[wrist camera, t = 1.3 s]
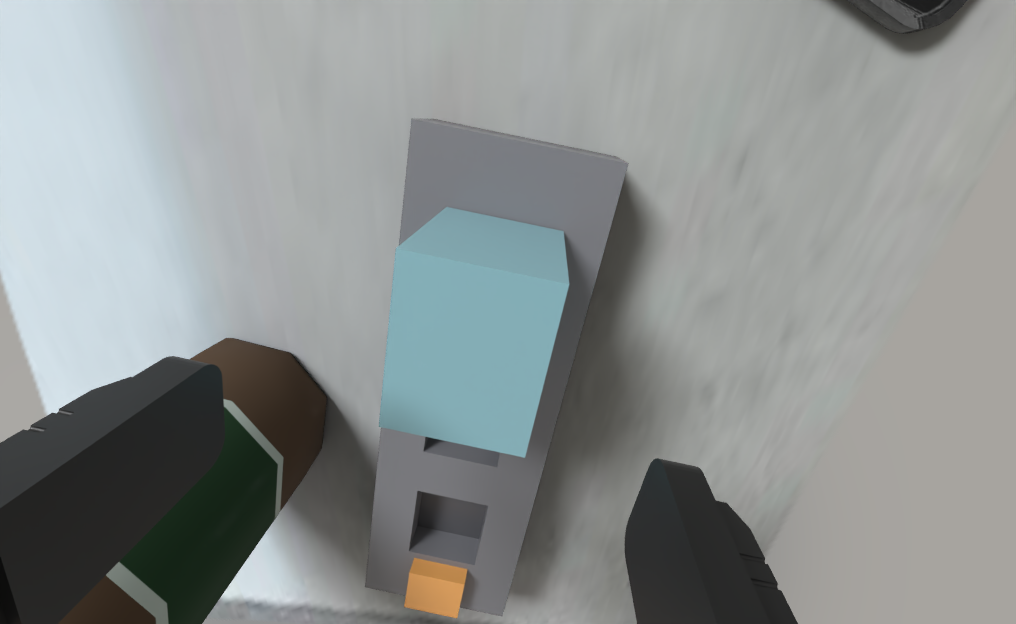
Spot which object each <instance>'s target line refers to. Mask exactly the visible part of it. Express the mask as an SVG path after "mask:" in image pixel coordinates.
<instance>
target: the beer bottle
mask: <svg viewBox="0 0 1016 624" xmlns="http://www.w3.org/2000/svg"><path fill="white" fill-rule="evenodd" d="M190 360H194V361H199V362H204V363H208V364H213V365H216V366H218V367H219V369H220V370H221V373H222V380H223V400H224V420H225V440H224V445H223V448H222V451H221V453H220V455H219V457H218V459H217V461H216V462H215V464H214V465H213V466H212V468H211V469H210V470H209V471H208V472H207V473H206V474H205V475H204V476H203V477H202V478H201V479H200V480H199V481H198V482H197V483H196V484H195V485H194V486H193V487H192V488H191V489H190V490H189V491H188V492H187V493H186V494H185V495H184V496H183V497H182V498H181V499H180V500H179V501H178V502H177V503H176V504H175V506H174V507H173V508H172V509H171V510H170V511H169V512H168V513H167V514H166V515H165V516H164V517H163V518H162V519H161V520H160V521H159V522H158V523H157V524H156V525H155V526H154V527H153V528H152V529H151V530H150V531H149V532H148V533H147V534H146V535H145V536H144V537H143V538H142V539H141V540H140V541H139V542H138V543H137V544H136V545H135V546H134V547H133V548H132V549H131V550H130V551H129V552H128V553H127V554H126V555H125V556H124V557H123V558H122V559H121V560H120V561H119V562H118V563H117V564H116V565H115V566H114V567H113V568H112V569H111V570H110V571H109V572H108V573H107V574H106V575H105V576H104V578H103V579H102V580H101V581H100V582H99V583H98V584H97V585H96V586H95V587H94V588H93V589H92V590H91V591H90V592H89V593H88V594H87V595H86V596H85V597H84V598H83V599H82V600H81V601H80V602H79V603H78V604H77V605H76V606H75V607H74V608H73V609H72V610H71V611H70V612H69V613H68V614H67V615H66V616H65V617H64V618H63V619H62V620H61V621H60V622H59V623H58V624H202V623H203V622H204V620H205V619H206V617H207V616H208V614H209V613H210V612H211V610H212V609H213V607H214V606H215V604H216V603H217V602H218V600H219V599H220V597H221V596H222V594H223V593H224V591H225V590H226V589H227V587H228V586H229V584H230V583H231V581H232V580H233V579H234V577H235V576H236V574H237V573H238V571H239V570H240V568H241V567H242V566H243V564H244V563H245V561H246V560H247V558H248V557H249V555H250V554H251V553H252V551H253V550H254V548H255V547H256V545H257V544H258V543H259V541H260V540H261V538H262V537H263V535H264V534H265V532H266V531H267V530H268V528H269V527H270V525H271V524H272V522H273V521H274V520H275V518H276V517H277V515H278V514H279V512H280V511H281V509H282V508H283V507H284V505H285V504H286V502H287V501H288V499H289V498H290V497H291V495H292V494H293V492H294V491H295V489H296V488H297V486H298V485H299V484H300V482H301V481H302V479H303V478H304V476H305V475H306V474H307V472H308V470H309V469H310V467H311V465H312V464H313V462H314V460H315V459H316V457H317V455H318V453H319V452H320V450H321V448H322V442H323V432H324V422H325V412H326V402H327V396H326V395H325V394H324V393H323V392H322V390H321V389H320V388H319V387H318V386H317V384H316V383H315V382H314V381H313V380H312V378H311V377H310V376H309V375H308V374H307V373H306V371H305V370H304V369H303V368H302V367H301V365H300V364H299V363H298V362H297V361H296V359H295V358H294V357H293V356H292V355H291V353H289V352H286V351H282V350H278V349H274V348H270V347H266V346H262V345H258V344H254V343H250V342H246V341H242V340H238V339H234V338H225V339H224V340H222V341H220V342H218V343H217V344H215V345H213V346H211V347H210V348H208V349H206V350H204V351H203V352H201V353H199V354H197V355H196V356H194V357H193V358H191V359H190Z"/></svg>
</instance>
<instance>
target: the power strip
mask: <svg viewBox="0 0 1016 624" xmlns="http://www.w3.org/2000/svg"><path fill="white" fill-rule="evenodd" d="M627 167H628V163H627V162H625V161H623V160H622V159H620V158H618V157H616V156H611V155H606V154H601V153H596V152H592V151H587V150H582V149H577V148H572V147H567V146H562V145H558V144H553V143H548V142H543V141H538V140H533V139H528V138H524V137H519V136H514V135H509V134H504V133H499V132H494V131H490V130H485V129H480V128H475V127H470V126H465V125H460V124H456V123H451V122H446V121H441V120H436V119H411V129H410V139H409V149H408V159H407V169H406V179H405V190H404V200H403V210H402V220H401V230H400V240H399V245H401V244H402V243H403V242H404V241H405V240H407V239H408V238H409V237H410V236H412V235H413V234H414V233H415V232H416V231H418V230H419V229H420V228H421V227H423V226H424V225H425V224H426V223H427V222H429V221H430V220H431V219H432V218H434V217H435V216H436V215H437V214H439V213H440V212H441V211H442V210H443V209H445V208H446V207H450V208H454V209H459V210H464V211H469V212H474V213H479V214H483V215H488V216H493V217H498V218H503V219H507V220H512V221H517V222H522V223H527V224H532V225H536V226H541V227H546V228H551V229H556V230H560V231H564V240H565V249H566V258H567V268H568V277H569V287H568V291H567V295H566V299H565V303H564V307H563V311H562V315H561V319H560V323H559V327H558V331H557V334H556V338H555V342H554V346H553V350H552V354H551V358H550V362H549V366H548V370H547V374H546V377H545V381H544V385H543V389H542V393H541V397H540V401H539V405H538V409H537V413H536V417H535V420H534V424H533V428H532V432H531V436H530V440H529V444H528V448H527V452H526V456H525V458H524V457H519V456H515V455H510V454H505V453H500V452H496V451H491V450H486V449H481V448H477V447H472V446H467V445H463V444H458V443H453V442H448V441H444V440H439V439H434V438H430V437H425V436H420V435H415V434H411V433H406V432H401V431H396V430H392V429H387V428H382V427H381V432H380V442H379V452H378V463H377V473H376V483H375V493H374V503H373V513H372V523H371V533H370V543H369V554H368V564H367V574H366V584H365V587H368V588H372V589H377V590H382V591H386V592H391V593H396V594H400V595H405V596H406V599H405V605H404V607H407V608H411V609H416V610H420V611H425V612H430V613H434V614H439V615H444V616H448V617H453V618H457V617H458V612H459V608H460V607H461V608H466V609H470V610H475V611H480V612H484V613H489V614H494V615H498V616H503V612H504V608H505V605H506V601H507V598H508V594H509V590H510V587H511V583H512V580H513V576H514V572H515V569H516V565H517V562H518V558H519V555H520V551H521V547H522V544H523V540H524V537H525V533H526V529H527V526H528V522H529V519H530V515H531V511H532V508H533V504H534V501H535V497H536V494H537V490H538V486H539V483H540V479H541V476H542V472H543V468H544V465H545V461H546V458H547V454H548V450H549V447H550V443H551V440H552V436H553V433H554V429H555V425H556V422H557V418H558V415H559V411H560V407H561V404H562V400H563V397H564V393H565V389H566V386H567V382H568V379H569V375H570V372H571V368H572V364H573V361H574V357H575V354H576V350H577V346H578V343H579V339H580V336H581V332H582V328H583V325H584V321H585V318H586V314H587V310H588V307H589V303H590V300H591V296H592V293H593V289H594V285H595V282H596V278H597V275H598V271H599V267H600V264H601V260H602V257H603V253H604V249H605V246H606V242H607V239H608V235H609V232H610V228H611V224H612V221H613V217H614V214H615V210H616V206H617V203H618V199H619V196H620V192H621V188H622V185H623V181H624V178H625V174H626V171H627Z"/></svg>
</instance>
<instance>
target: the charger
mask: <svg viewBox="0 0 1016 624" xmlns="http://www.w3.org/2000/svg"><path fill="white" fill-rule="evenodd" d="M568 287H569V277H568V268H567V258H566V249H565V240H564V231H560V230H556V229H551V228H546V227H541V226H536V225H532V224H527V223H522V222H517V221H512V220H507V219H503V218H498V217H493V216H488V215H483V214H479V213H474V212H469V211H464V210H459V209H454V208H450V207H446V208H445V209H443V210H442V211H441V212H440V213H439V214H437V215H436V216H435V217H434V218H432V219H431V220H430V221H429V222H427V223H426V224H425V225H424V226H423V227H421V228H420V229H419V230H418V231H416V232H415V233H414V234H413V235H412V236H410V237H409V238H408V239H407V240H405V241H404V242H403V243H402V244H401V245H399V246H398V247H397V248H396V253H395V263H394V274H393V284H392V295H391V305H390V315H389V326H388V336H387V346H386V357H385V367H384V377H383V388H382V398H381V408H380V419H379V427H382V428H387V429H392V430H396V431H401V432H406V433H411V434H415V435H420V436H425V437H430V438H434V439H439V440H444V441H448V442H453V443H458V444H463V445H467V446H472V447H477V448H481V449H486V450H491V451H496V452H500V453H505V454H510V455H515V456H519V457H524V458H525V456H526V452H527V448H528V444H529V440H530V436H531V432H532V428H533V424H534V420H535V417H536V413H537V409H538V405H539V401H540V397H541V393H542V389H543V385H544V381H545V377H546V374H547V370H548V366H549V362H550V358H551V354H552V350H553V346H554V342H555V338H556V334H557V331H558V327H559V323H560V319H561V315H562V311H563V307H564V303H565V299H566V295H567V291H568Z"/></svg>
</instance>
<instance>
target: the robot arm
mask: <svg viewBox="0 0 1016 624" xmlns="http://www.w3.org/2000/svg"><path fill="white" fill-rule="evenodd" d="M224 440H225V420H224V400H223V380H222V373H221V370H220V369H219V367H218V366H216V365H213V364H208V363H204V362H199V361H194V360H189V359H184V358H180V357H175V356H170V357H166V358H164V359H162V360H160V361H159V362H157V363H155V364H154V365H152V366H150V367H149V368H147V369H145V370H144V371H142V372H140V373H139V374H137V375H135V376H134V377H129V378H126V379H123V380H120V381H117V382H114V383H111V384H108V385H105V386H102V387H99V388H97V389H94V390H91V391H89V392H88V393H86V394H84V395H82V396H81V397H79V398H77V399H76V400H74V401H72V402H70V403H69V404H67V405H65V406H63V407H62V408H60V409H59V412H58V413H57V414H56V413H51V414H50V415H48V416H46V417H44V418H43V419H41V420H39V421H38V422H36V423H34V424H32V425H31V427H30V429H29V430H28V431H27V430H22V431H20V432H18V433H17V434H15V435H13V436H11V437H10V438H8V439H6V440H5V441H3V442H1V443H0V624H58V623H59V622H60V621H61V620H62V619H63V618H64V617H65V616H66V615H67V614H68V613H69V612H70V611H71V610H72V609H73V608H74V607H75V606H76V605H77V604H78V603H79V602H80V601H81V600H82V599H83V598H84V597H85V596H86V595H87V594H88V593H89V592H90V591H91V590H92V589H93V588H94V587H95V586H96V585H97V584H98V583H99V582H100V581H101V580H102V579H103V578H104V576H105V575H106V574H107V573H108V572H109V571H110V570H111V569H112V568H113V567H114V566H115V565H116V564H117V563H118V562H119V561H120V560H121V559H122V558H123V557H124V556H125V555H126V554H127V553H128V552H129V551H130V550H131V549H132V548H133V547H134V546H135V545H136V544H137V543H138V542H139V541H140V540H141V539H142V538H143V537H144V536H145V535H146V534H147V533H148V532H149V531H150V530H151V529H152V528H153V527H154V526H155V525H156V524H157V523H158V522H159V521H160V520H161V519H162V518H163V517H164V516H165V515H166V514H167V513H168V512H169V511H170V510H171V509H172V508H173V507H174V506H175V504H176V503H177V502H178V501H179V500H180V499H181V498H182V497H183V496H184V495H185V494H186V493H187V492H188V491H189V490H190V489H191V488H192V487H193V486H194V485H195V484H196V483H197V482H198V481H199V480H200V479H201V478H202V477H203V476H204V475H205V474H206V473H207V472H208V471H209V470H210V469H211V468H212V466H213V465H214V464H215V462H216V461H217V459H218V457H219V455H220V453H221V451H222V448H223V445H224ZM625 558H626V564H627V569H628V575H629V580H630V586H631V591H632V597H633V602H634V608H635V613H636V619H637V624H798V623H797V621H796V619H795V617H794V615H793V613H792V611H791V609H790V607H789V605H788V604H787V601H786V599H785V597H784V595H783V593H782V591H780V590H778V588H777V581H776V579H775V577H774V576H773V573H772V571H771V569H770V568H769V566H768V564H765V557H764V555H763V553H762V551H761V549H760V547H759V546H758V544H757V542H756V540H755V538H754V536H753V534H752V532H751V530H750V528H749V527H748V526H747V525H746V524H745V523H744V522H743V521H742V520H741V518H740V517H739V516H738V515H737V514H736V513H735V512H734V511H733V510H732V508H731V507H730V506H729V505H728V504H727V503H724V502H719V501H715V498H714V496H713V494H712V492H711V489H710V487H709V485H708V483H707V480H706V478H705V476H704V474H703V472H702V470H701V469H700V468H698V467H695V466H691V465H686V464H681V463H676V462H672V461H667V460H662V459H654V460H653V461H652V462H651V464H650V466H649V468H648V471H647V473H646V476H645V478H644V481H643V484H642V486H641V489H640V491H639V494H638V497H637V499H636V502H635V504H634V507H633V510H632V512H631V515H630V517H629V520H628V524H627V528H626V534H625Z"/></svg>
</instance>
